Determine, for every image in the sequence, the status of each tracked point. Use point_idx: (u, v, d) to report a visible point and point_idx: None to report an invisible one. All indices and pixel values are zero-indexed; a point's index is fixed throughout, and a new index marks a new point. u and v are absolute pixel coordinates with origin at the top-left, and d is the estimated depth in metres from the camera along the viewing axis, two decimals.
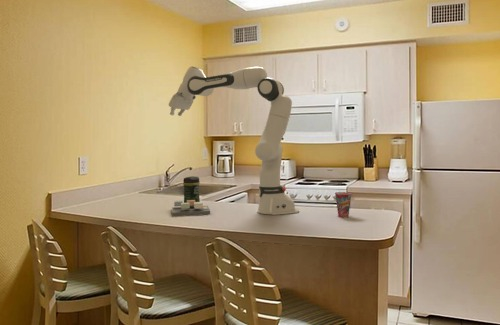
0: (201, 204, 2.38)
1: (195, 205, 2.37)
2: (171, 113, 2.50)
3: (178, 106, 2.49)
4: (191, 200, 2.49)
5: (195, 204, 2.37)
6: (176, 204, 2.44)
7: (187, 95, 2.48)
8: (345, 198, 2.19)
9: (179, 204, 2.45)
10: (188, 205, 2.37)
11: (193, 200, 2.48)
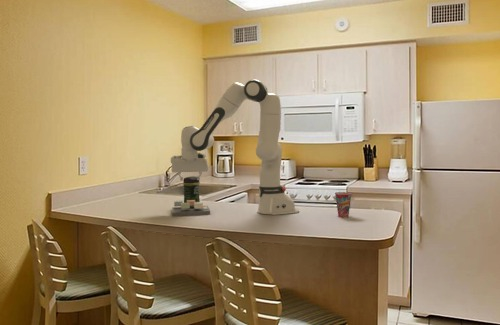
0: (201, 204, 2.38)
1: (195, 205, 2.37)
2: (180, 178, 2.46)
3: (181, 169, 2.44)
4: (191, 200, 2.49)
5: (195, 204, 2.37)
6: (176, 204, 2.44)
7: (184, 155, 2.43)
8: (345, 198, 2.19)
9: (179, 204, 2.45)
10: (188, 205, 2.37)
11: (193, 200, 2.48)
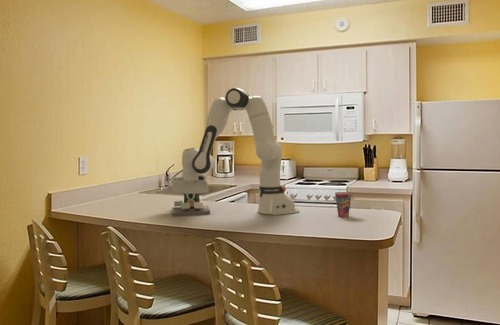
0: (201, 204, 2.38)
1: (195, 205, 2.37)
2: (188, 200, 2.48)
3: (182, 191, 2.45)
4: None
5: (195, 204, 2.37)
6: (176, 204, 2.44)
7: (185, 177, 2.44)
8: (345, 198, 2.19)
9: (179, 204, 2.45)
10: (188, 205, 2.37)
11: (193, 201, 2.49)
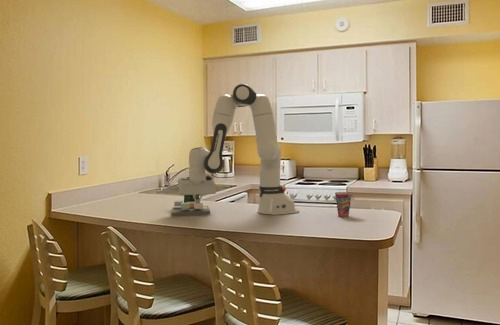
0: (201, 204, 2.38)
1: (195, 205, 2.37)
2: (195, 201, 2.40)
3: (189, 192, 2.37)
4: (191, 202, 2.49)
5: (195, 204, 2.37)
6: (176, 204, 2.44)
7: (192, 177, 2.35)
8: (345, 198, 2.19)
9: (179, 204, 2.45)
10: (188, 205, 2.37)
11: (193, 202, 2.49)
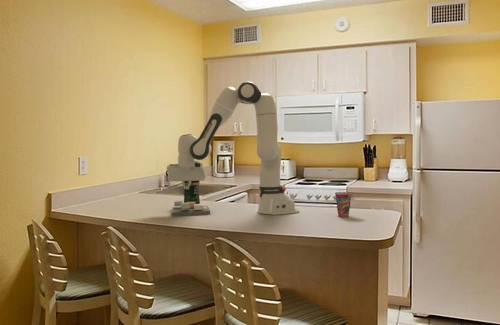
0: (201, 206, 2.38)
1: (195, 207, 2.37)
2: None
3: (177, 178, 2.40)
4: (191, 202, 2.49)
5: (195, 206, 2.37)
6: (176, 204, 2.44)
7: (181, 164, 2.38)
8: (345, 198, 2.19)
9: (179, 204, 2.45)
10: (188, 205, 2.37)
11: (193, 202, 2.49)
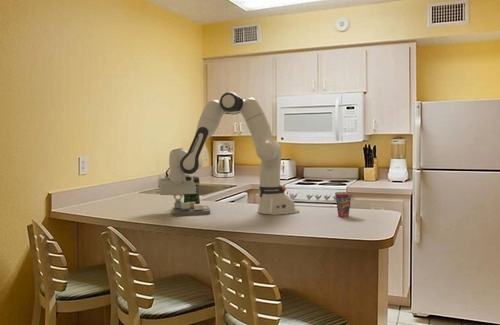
0: (201, 206, 2.38)
1: (195, 207, 2.37)
2: (175, 200, 2.47)
3: (169, 192, 2.44)
4: (191, 202, 2.49)
5: (195, 206, 2.37)
6: (176, 205, 2.44)
7: (172, 178, 2.42)
8: (345, 198, 2.19)
9: (179, 205, 2.45)
10: (188, 205, 2.37)
11: (193, 202, 2.49)
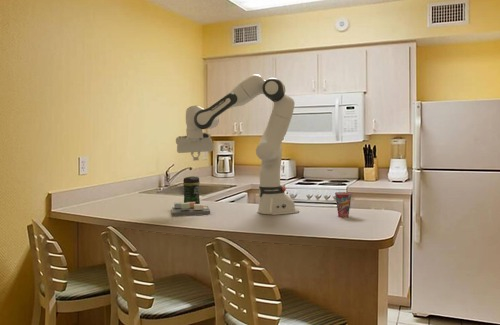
0: (201, 206, 2.38)
1: (195, 207, 2.37)
2: (193, 158, 2.45)
3: (187, 149, 2.43)
4: (191, 202, 2.49)
5: (195, 206, 2.37)
6: (176, 206, 2.44)
7: (189, 135, 2.41)
8: (345, 198, 2.19)
9: (179, 206, 2.45)
10: (188, 205, 2.37)
11: (193, 202, 2.49)
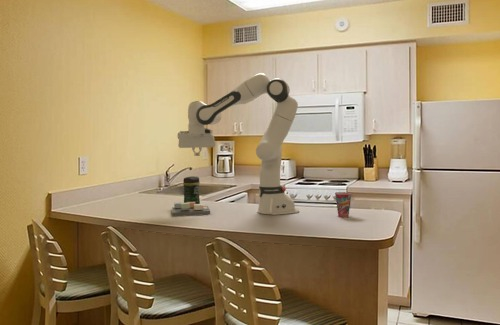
0: (201, 206, 2.38)
1: (195, 207, 2.37)
2: (194, 154, 2.45)
3: (188, 144, 2.43)
4: (191, 202, 2.49)
5: (195, 206, 2.37)
6: (176, 206, 2.44)
7: (191, 130, 2.41)
8: (345, 198, 2.19)
9: (179, 206, 2.45)
10: (188, 205, 2.37)
11: (193, 202, 2.49)
